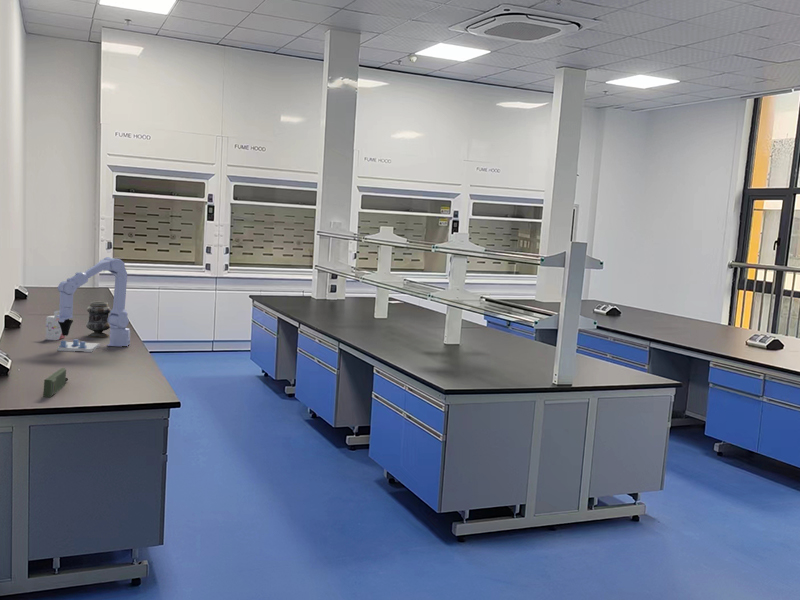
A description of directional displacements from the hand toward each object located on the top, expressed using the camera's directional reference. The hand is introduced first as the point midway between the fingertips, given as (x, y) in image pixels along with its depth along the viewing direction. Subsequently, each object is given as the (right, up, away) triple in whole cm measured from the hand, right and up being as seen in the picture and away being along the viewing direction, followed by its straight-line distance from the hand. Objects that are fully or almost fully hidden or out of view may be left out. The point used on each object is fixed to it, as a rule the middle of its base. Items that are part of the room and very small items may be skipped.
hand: (65, 335), depth 342 cm
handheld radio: (+32, -17, -75) cm, 83 cm away
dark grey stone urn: (-3, -3, +44) cm, 45 cm away
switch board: (+4, -7, +5) cm, 9 cm away
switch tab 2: (+3, -5, +4) cm, 7 cm away
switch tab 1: (0, -5, -2) cm, 6 cm away
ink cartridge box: (-17, -3, +26) cm, 31 cm away
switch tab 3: (+8, -6, 0) cm, 10 cm away
